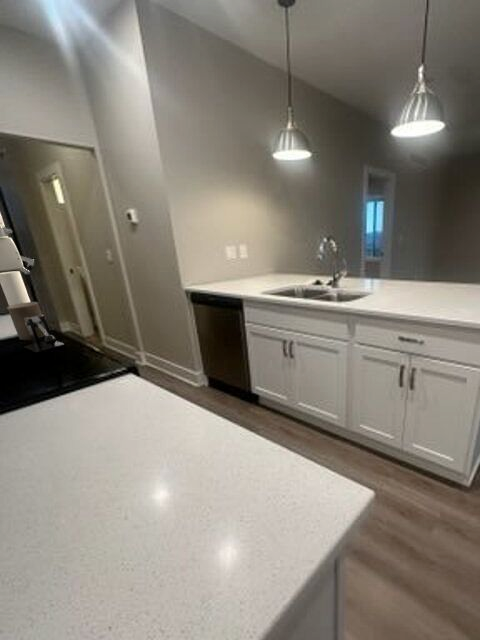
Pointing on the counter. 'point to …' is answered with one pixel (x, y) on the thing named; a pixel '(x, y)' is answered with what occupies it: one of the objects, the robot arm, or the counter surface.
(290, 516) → the counter surface
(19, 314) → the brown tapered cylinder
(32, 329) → the bracket
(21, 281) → the cylindrical container
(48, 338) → the lever
